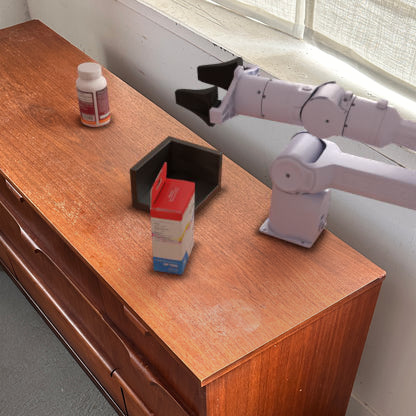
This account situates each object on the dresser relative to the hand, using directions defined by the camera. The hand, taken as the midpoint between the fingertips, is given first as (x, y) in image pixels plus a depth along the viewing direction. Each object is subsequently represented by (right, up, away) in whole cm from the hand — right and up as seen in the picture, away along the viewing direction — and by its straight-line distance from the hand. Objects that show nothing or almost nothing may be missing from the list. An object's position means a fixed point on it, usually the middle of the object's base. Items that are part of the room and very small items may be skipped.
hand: (187, 84), depth 98 cm
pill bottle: (-20, +7, +33) cm, 40 cm away
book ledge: (-2, -14, +15) cm, 20 cm away
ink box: (-2, -27, +4) cm, 27 cm away
